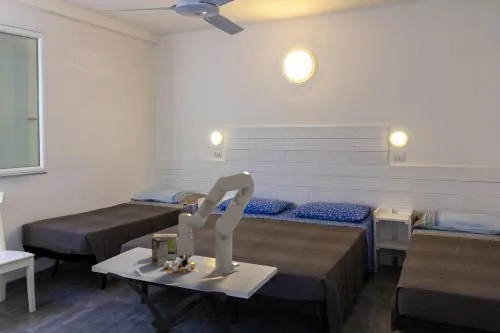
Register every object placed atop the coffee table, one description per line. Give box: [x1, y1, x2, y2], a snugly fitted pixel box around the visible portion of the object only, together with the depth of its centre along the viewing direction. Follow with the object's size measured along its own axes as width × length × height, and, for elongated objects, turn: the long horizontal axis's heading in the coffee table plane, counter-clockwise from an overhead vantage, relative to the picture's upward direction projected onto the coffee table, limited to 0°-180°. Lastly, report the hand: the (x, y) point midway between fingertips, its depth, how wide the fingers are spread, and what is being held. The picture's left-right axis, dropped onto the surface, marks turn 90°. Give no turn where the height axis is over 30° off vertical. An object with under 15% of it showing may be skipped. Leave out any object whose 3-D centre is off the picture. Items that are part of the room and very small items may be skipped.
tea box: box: [151, 233, 178, 260], centre depth 273 cm, size 15×10×15 cm
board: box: [162, 266, 200, 276], centre depth 244 cm, size 17×15×1 cm
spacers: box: [163, 258, 192, 275], centre depth 243 cm, size 12×14×4 cm
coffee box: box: [151, 237, 169, 267], centre depth 255 cm, size 9×6×16 cm
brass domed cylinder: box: [188, 261, 196, 269], centre depth 247 cm, size 4×4×3 cm
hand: (184, 266), depth 245 cm, fingers closed
